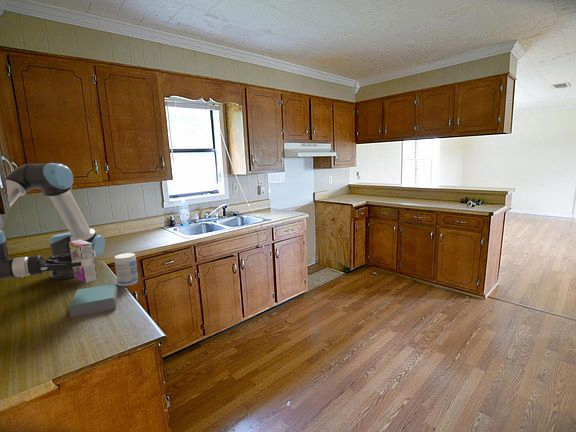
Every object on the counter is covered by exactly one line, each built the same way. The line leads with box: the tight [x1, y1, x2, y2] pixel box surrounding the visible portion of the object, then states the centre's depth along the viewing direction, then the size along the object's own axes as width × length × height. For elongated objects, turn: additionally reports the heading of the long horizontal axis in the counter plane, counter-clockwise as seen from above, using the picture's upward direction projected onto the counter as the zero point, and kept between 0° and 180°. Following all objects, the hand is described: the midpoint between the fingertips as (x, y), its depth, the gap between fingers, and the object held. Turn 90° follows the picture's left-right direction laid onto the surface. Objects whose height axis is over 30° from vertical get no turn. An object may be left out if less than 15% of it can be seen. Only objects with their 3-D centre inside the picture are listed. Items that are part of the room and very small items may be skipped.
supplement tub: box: [114, 252, 139, 287], centre depth 156 cm, size 10×10×15 cm
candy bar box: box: [69, 240, 98, 284], centre depth 130 cm, size 11×5×16 cm, turn 55°
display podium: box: [68, 283, 119, 319], centre depth 134 cm, size 18×16×5 cm
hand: (93, 257), depth 131 cm, fingers closed on candy bar box, 12 cm apart
